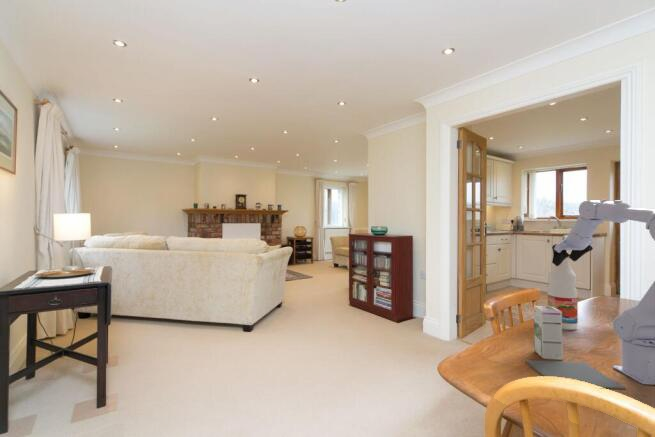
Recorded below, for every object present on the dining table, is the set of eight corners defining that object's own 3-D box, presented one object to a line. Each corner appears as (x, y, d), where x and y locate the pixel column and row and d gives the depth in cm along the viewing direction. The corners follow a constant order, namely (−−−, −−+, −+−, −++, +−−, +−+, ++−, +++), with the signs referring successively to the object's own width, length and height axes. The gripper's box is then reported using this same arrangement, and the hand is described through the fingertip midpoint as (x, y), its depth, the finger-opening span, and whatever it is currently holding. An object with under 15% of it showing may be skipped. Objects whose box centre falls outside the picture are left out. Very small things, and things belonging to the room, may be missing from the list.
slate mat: (625, 389, 77) (625, 387, 77) (556, 386, 79) (556, 384, 79) (584, 363, 91) (584, 362, 91) (525, 361, 93) (525, 360, 93)
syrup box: (563, 360, 94) (563, 311, 94) (541, 358, 95) (541, 309, 95) (554, 352, 99) (553, 305, 99) (533, 351, 100) (532, 305, 100)
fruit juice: (561, 321, 129) (560, 253, 130) (584, 329, 120) (583, 255, 121) (541, 323, 128) (541, 253, 128) (563, 331, 118) (562, 256, 119)
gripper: (587, 221, 109) (570, 250, 118) (554, 229, 106) (538, 258, 114) (607, 233, 104) (587, 263, 112) (572, 242, 101) (554, 272, 109)
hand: (563, 261), depth 113 cm, fingers open, 7 cm apart
